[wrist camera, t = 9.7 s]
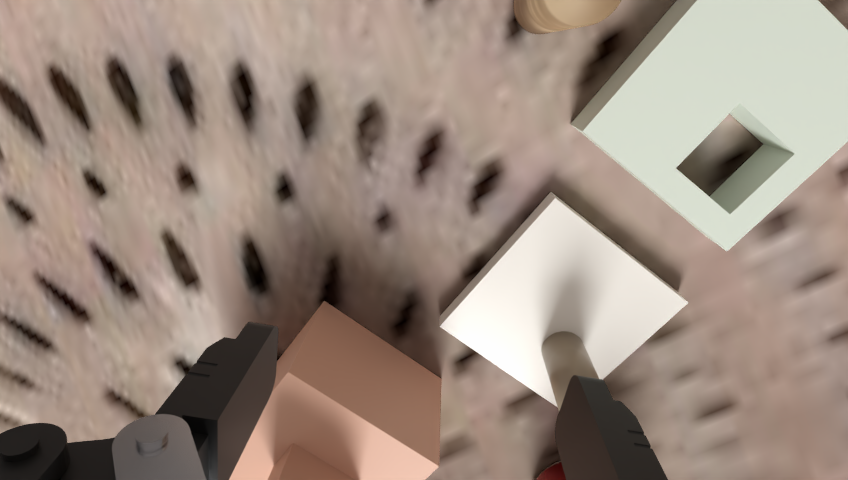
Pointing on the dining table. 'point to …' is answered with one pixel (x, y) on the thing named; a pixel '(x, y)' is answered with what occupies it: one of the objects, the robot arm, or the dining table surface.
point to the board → (560, 303)
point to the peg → (561, 14)
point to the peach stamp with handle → (345, 410)
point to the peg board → (727, 104)
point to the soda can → (553, 472)
